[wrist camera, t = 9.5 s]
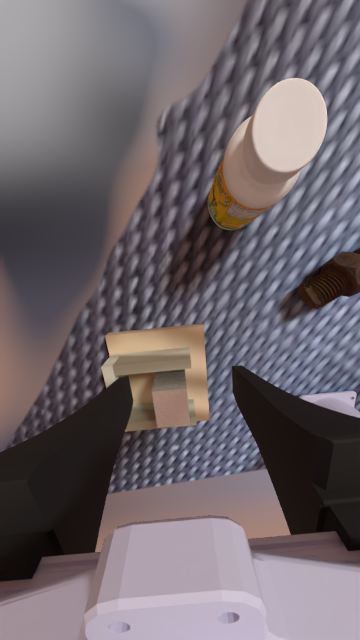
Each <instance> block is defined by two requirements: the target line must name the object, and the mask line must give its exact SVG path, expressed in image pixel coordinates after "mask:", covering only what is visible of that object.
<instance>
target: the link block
mask: <svg viewBox="0 0 360 640" xmlns="http://www.w3.org/2000/svg"><path fill="white" fill-rule="evenodd" d="M152 397H153V403H154V409H155V415H156V421H157V428H161V427H172V426H182V425H190V416H189V405H188V394H187V384H186V374H185V369H181V370H170V371H160V372H156V374H155V379H154V383H153V388H152Z"/></svg>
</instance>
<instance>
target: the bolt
mask: <svg viewBox="0 0 360 640" xmlns="http://www.w3.org/2000/svg"><path fill="white" fill-rule="evenodd" d="M359 292H360V249H358V250H356V251H355V252H353V253H352V252H341V253H339V254H338V255H336V256H335V257H333V258H332V259H330V260H329V261H328V262H326V263H325V264H324V265H323V266H322V267H321V270H320V274H318V275H317V276H315V277H313V278H312V279H310V280H308V281H307V282H305V283H303V284H302V285H300V286H299V288H298V293H299V296H300V298H301V299H302V301H303V302H304V303H305V304H306V305H307V306H308V307H310V308H315V309H318V308H320V307H323V306H324V305H326V304H327V303H329V302H331V301H332V300H334V299H336V298H338V297H340V296H341V295H342V296H347V297H350V296H352V295H355V294H357V293H359Z"/></svg>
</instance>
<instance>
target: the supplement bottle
mask: <svg viewBox="0 0 360 640" xmlns="http://www.w3.org/2000/svg"><path fill="white" fill-rule="evenodd" d="M326 127H327V110H326V106H325V102H324V99H323V97H322V95H321V93H320V92H319V91H318V89H317V88H316V87H315V86H314V85H313V84H311V83H310V82H308V81H306V80H304V79H299V78H291V79H286V80H283V81H281V82H279V83H277V84H276V85H274V86H273V87H271V88H270V89H269V90H268V92H267V93H266V94H265V95H264V96H263V98H262V99H261V101H260V102H259V104H258V106H257V108H256V110H255V111H254V113H253V115H252V116H251V117H249V118H248V119H247V120H245V121H244V122H243V123H242V124H241V125H240V126H239V127H238V129H237V130H236V131H235V133H234V134H233V136H232V138H231V139H230V142H229V144H228V146H227V148H226V151H225V153H224V156H223V158H222V161H221V163H220V166H219V169H218V172H217V174H216V177H215V179H214V182H213V184H212V187H211V190H210V193H209V197H208V209H209V212H210V215H211V218H212V219H213V221H214V222H215V224H216V225H217V226H219V227H220V228H222V229H225V230H237V229H240V228H242V227H244V226H246V225H247V224H249V223H250V222H251V221H253V220H254V219H256V218H257V217H258V216H260V215H261V214H262V213H264V212H265V211H266V210H268V209H269V208H270V207H272V206H273V205H274V204H276V203H277V202H278V201H280V200H281V199H282V198H283V197H284V196H285V195H286V194H287V193H288V192H289V191H290V190H291V188H292V187H293V185H294V184H295V182H296V180H297V179H298V176H299V174H300V171H301V169H302V168H303V167H304V166H306V165H307V164H308V163H309V162H310V161H311V160H312V158H313V157H314V156H315V154H316V153H317V151H318V150H319V148H320V146H321V144H322V142H323V139H324V136H325V132H326Z"/></svg>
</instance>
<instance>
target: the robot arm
mask: <svg viewBox="0 0 360 640" xmlns="http://www.w3.org/2000/svg"><path fill="white" fill-rule="evenodd" d="M232 381H233V394H234V397H235V400H236V402H237V405H238V407H239V409H240V411H241V413H242V415H243V417H244V419H245V421H246V423H247V425H248V427H249V429H250V431H251V433H252V435H253V437H254V439H255V441H256V443H257V445H258V448H259V450H260V453H261V455H262V458H263V460H264V463H265V465H266V468H267V470H268V473H269V475H270V478H271V481H272V483H273V486H274V488H275V491H276V494H277V496H278V500H279V502H280V505H281V508H282V511H283V513H284V516H285V519H286V522H287V525H288V527H289V531H290V533H291V535H287V536H277V537H265V538H253V539H247V536H246V534H245V532H244V530H243V527H242V526H241V525H239V524H238V523H237V522H235V521H233V520H231V519H229V518H228V517H222V516H211V515H210V516H198V517H188V518H177V519H166V520H155V521H143V522H133V523H129V524H126V525H122V526H119V527H117V528H116V529H115V530H114V531H113V532H112V533H111V534H110V535H109V536H108V537H106V538H105V539H104V543H103V547H102V550H101V552H95V548H96V544H97V538H98V533H99V528H100V524H101V519H102V514H103V510H104V505H105V501H106V496H107V492H108V488H109V483H110V479H111V475H112V471H113V467H114V464H115V460H116V456H117V453H118V450H119V447H120V444H121V442H122V439H123V436H124V433H125V430H126V427H127V424H128V422H129V419H130V416H131V411H132V407H133V402H134V401H133V396H132V391H131V386H130V381H129V376H126V377H119V378H118V379H117V380H115V381H114V382H113V383H112V384H111V385H109V386H108V387H107V388H106V389H105V390H104V391H102V392H101V393H100V394H99V395H98V396H96V397H95V398H94V399H92V400H91V401H90V402H89V403H87V404H86V405H85V406H83V407H82V408H81V409H79V410H78V411H76V412H75V413H73V414H72V415H70V416H69V417H67V418H66V419H64V420H62V421H61V422H59V423H57V424H56V425H54V426H52V427H50V428H49V429H47V430H45V431H43V432H42V433H40V434H38V435H36V436H34V437H32V438H30V439H28V440H26V441H24V442H22V443H20V444H18V445H16V446H14V447H11V448H9V449H7V450H5V451H2V452H0V640H360V412H359V411H357V410H356V409H355V408H354V404H355V400H356V392H354V391H342V392H332V393H321V394H311V395H301V396H299V397H296V396H294V395H292V394H290V393H288V392H285V391H283V390H281V389H280V388H278V387H276V386H274V385H272V384H270V383H269V382H267V381H265V380H264V379H262V378H260V377H259V376H257V375H256V374H254V373H252V372H251V371H249V370H248V369H246V368H245V367H243V366H241V365H240V366H232Z"/></svg>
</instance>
